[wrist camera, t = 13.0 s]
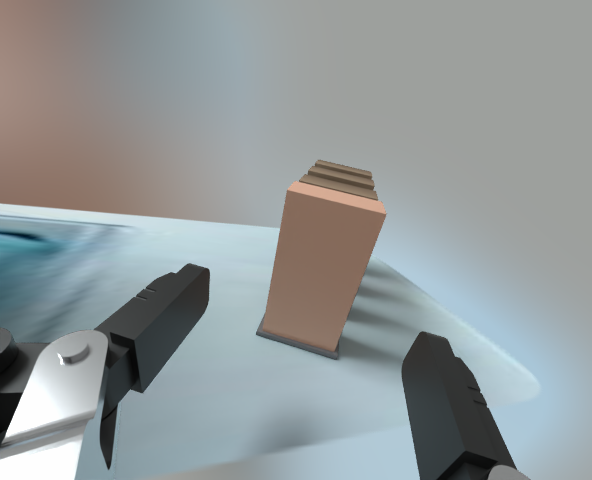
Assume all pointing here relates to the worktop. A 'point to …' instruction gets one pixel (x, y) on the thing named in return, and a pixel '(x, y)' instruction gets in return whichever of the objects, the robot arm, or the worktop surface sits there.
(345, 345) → the worktop surface
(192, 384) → the worktop surface
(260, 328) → the pad
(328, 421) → the worktop surface
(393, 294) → the worktop surface
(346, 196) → the salmon pink domino
